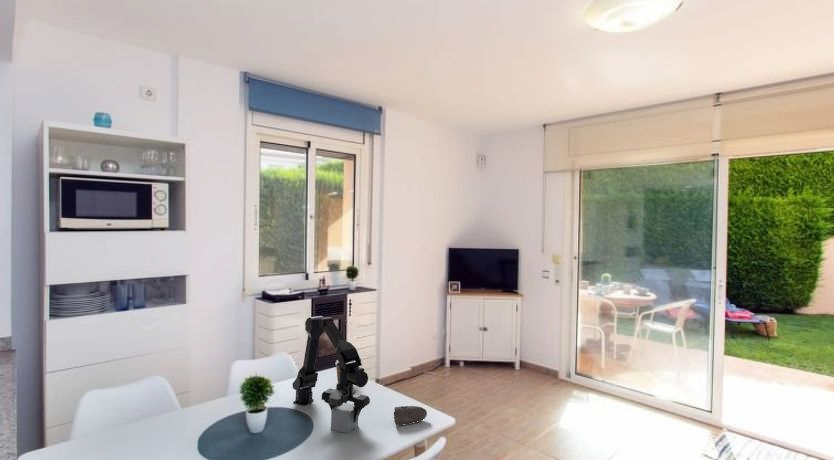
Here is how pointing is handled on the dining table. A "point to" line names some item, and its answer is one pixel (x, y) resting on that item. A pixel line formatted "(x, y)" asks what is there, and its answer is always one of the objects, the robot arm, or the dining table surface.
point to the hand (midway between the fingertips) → (344, 419)
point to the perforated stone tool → (408, 414)
